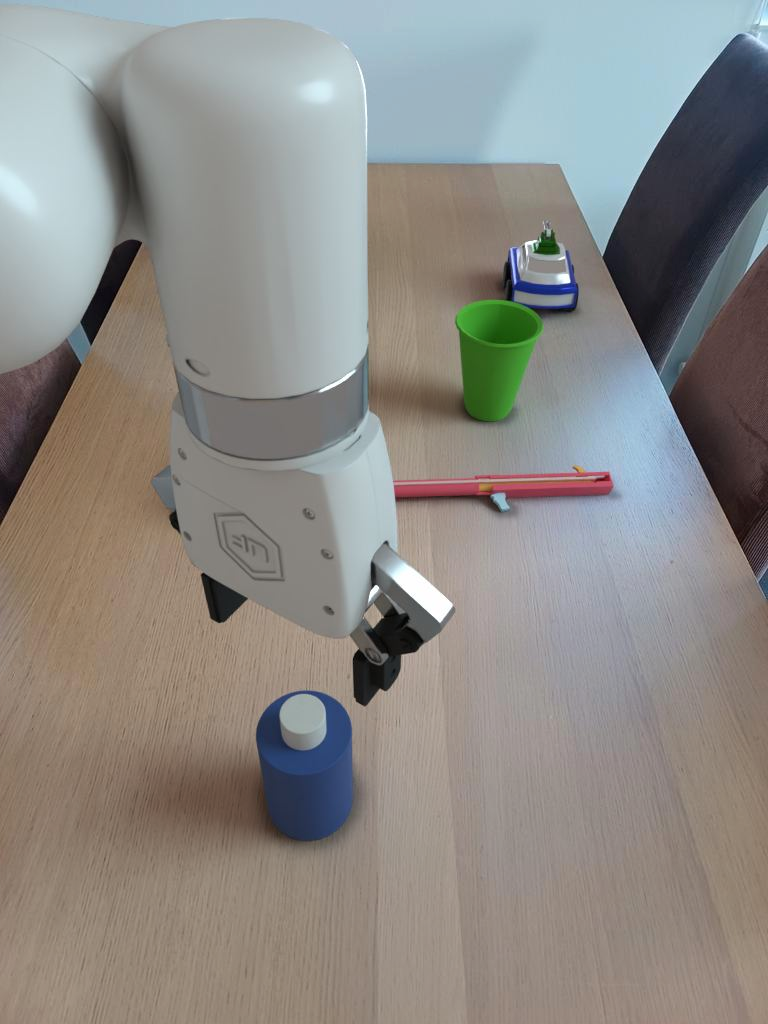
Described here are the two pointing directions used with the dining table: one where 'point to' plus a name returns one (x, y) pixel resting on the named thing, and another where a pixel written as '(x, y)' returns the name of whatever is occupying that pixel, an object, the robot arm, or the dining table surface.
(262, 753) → the bottle
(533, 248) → the toy car
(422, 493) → the pink long slotted bar
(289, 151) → the robot arm
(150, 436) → the dining table surface
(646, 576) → the dining table surface
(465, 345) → the cup
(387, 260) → the dining table surface
